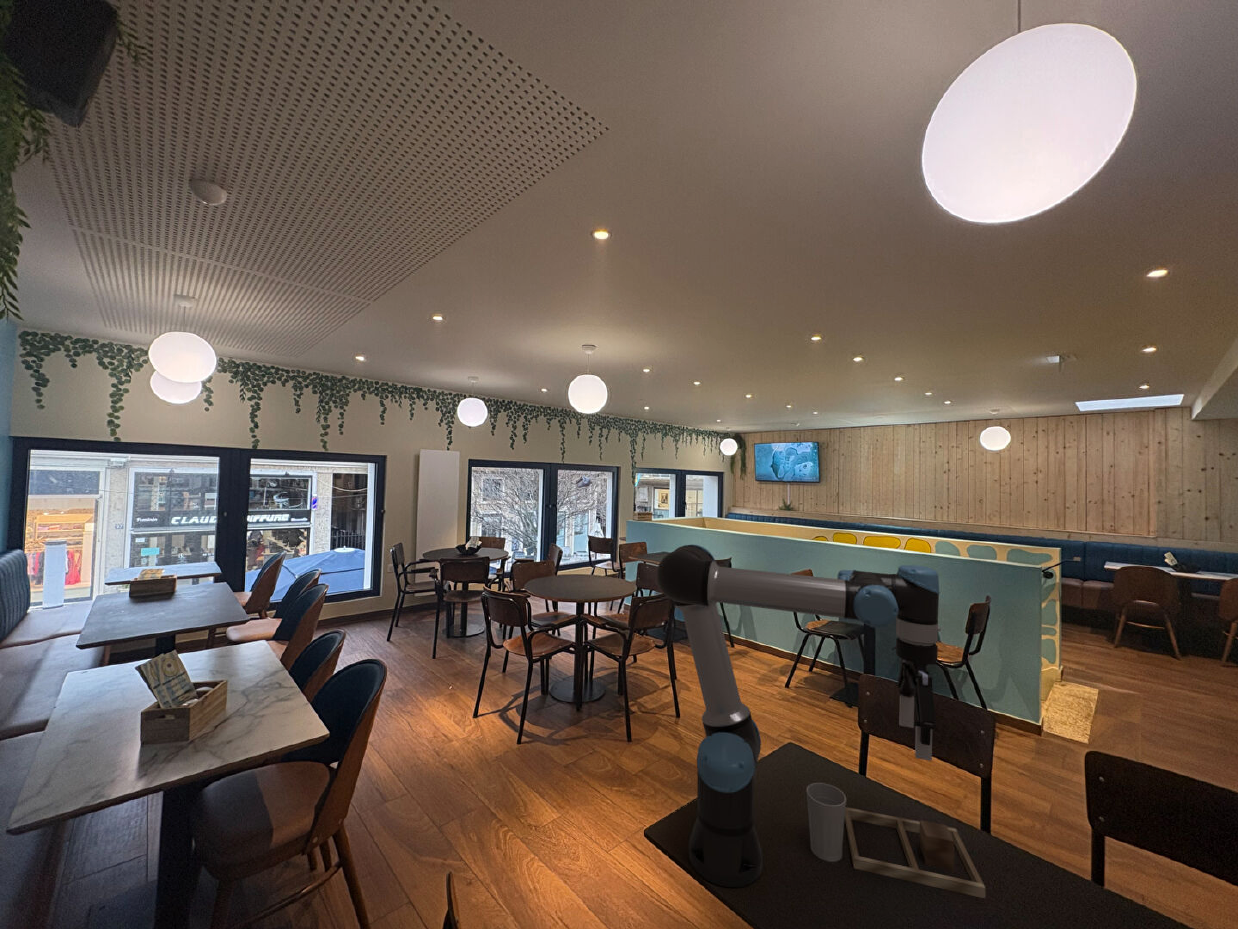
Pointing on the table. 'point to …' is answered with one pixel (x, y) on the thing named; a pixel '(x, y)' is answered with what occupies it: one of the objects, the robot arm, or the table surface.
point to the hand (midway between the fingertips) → (914, 741)
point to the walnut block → (936, 845)
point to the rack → (912, 856)
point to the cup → (826, 820)
